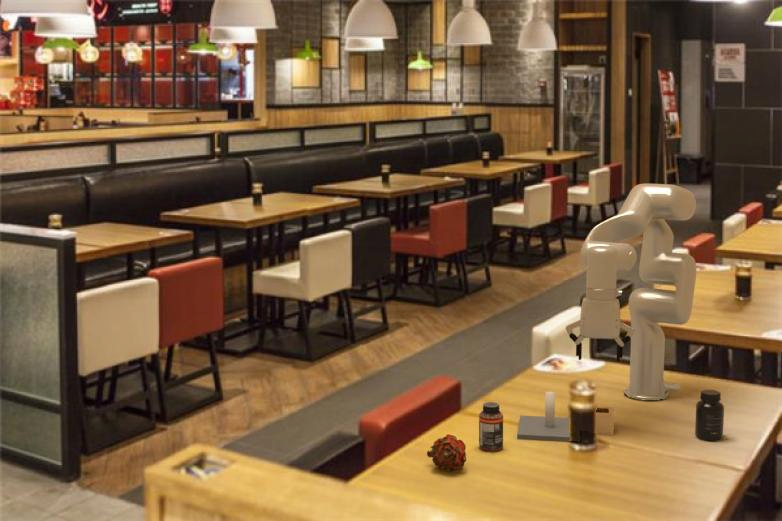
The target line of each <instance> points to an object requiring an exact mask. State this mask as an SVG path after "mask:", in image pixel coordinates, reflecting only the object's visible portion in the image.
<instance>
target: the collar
mask: <svg viewBox="0 0 782 521" xmlns="http://www.w3.org/2000/svg"><path fill="white" fill-rule="evenodd" d="M595 407H596V408H597V410H596V433H597V434H598V435H599V436H600V435H601V436H614V435H615V433H614V432H615V431H614V430H615V411H614V407H613V406H595ZM598 435H597V436H598Z"/></svg>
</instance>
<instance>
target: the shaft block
mask: <svg viewBox="0 0 782 521" xmlns="http://www.w3.org/2000/svg"><path fill="white" fill-rule="evenodd" d="M544 403H545V409H544V411H545V412H544V414H545V415H544V416H542V415H541V416H538V415H520V416H519V419H518V420H519V421H518V427H517V433H516V434H517V435H516V438H517V440H528V441H531V440H532V441H546V442H547V441H548V442H549V441H550V442H568V443H570V442H569V440H570V432H569V418H570V417H558V416H555V415H556V413H555V410H556V409H555V408H556V407H555V405H556V392H555V391H551V390H550V391H548V390H547V391H546V392H545V402H544Z"/></svg>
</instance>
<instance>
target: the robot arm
mask: <svg viewBox="0 0 782 521" xmlns="http://www.w3.org/2000/svg"><path fill="white" fill-rule="evenodd" d="M696 209H697V201H696V197H695V195H694V194H693V192H692V191H690V190H688V189H687V188H684V187H681V186H678V185H676V184H669V183H668V184H667V183H666V184H663V183H640V184H637V185H635V186H634V187H632V189H631V190H629V193H628V195H627V197H626V198H625V201H624V202H623V204H622V206H621V208H620V209H619V211H618V213H617V214H616V215H614V216H612V217H610V218H607V219H606V220H603V221H602V222H600V223H599V224H597V225H596V226H594V227H593V228H592V229H591V230H590V232H589V233H588V234H587V236H586V238H585V240H584V241H583V243H582V247H581V250H580V254H579V258H580V261H581V264H582V266H583V267H585V268H586V284H585V286H586V288H585V289H586V291H585V293H586V294H585V297H583V298H582V301H581V302H582V303H581V306H580V317H579V318H580V319H579V320H576V321H575V322H572V323H571V324H568V325H566V326H565V330H566V332H567V335H568V336H569V338H570V339H571V341H573V342H574V343H575V346H576V347H575V356H576V357H578V361H581V360H582V356H583V355H582V353H583V352H582V351H583V350H582V349H583V343H582V342H583V341H584V340H585V339H599V340H601V339H603V340H614V341H615V342H616V343H617V345H616V362H617V363H619V362H620V359H623V354H624V353H623V352H624V346H625V345H626V344H627V343H628V342H630V359H629V361H630V362H629V386H627V387H625V388H624V389H623V394H624V393H625V394H626V395H628V396H630V397H634V398H637V399H645V400H658V401H661V400H660V399H663V400H666V399H667V398H669V392H679V393H680V392H681V385H680V384H675V383H670V382H669V383H668V382H666V381H665V379H664V373H665V370H664V369H665V347H666V345H665V344H666V337H665V332H664V330H663V329H662V327H661V325H660V323H661V324H670V325H680V326H681V325H685V324H687V323H688V322H689V320H690V318H691V315H692V310H693V302H694V296H695V295H694V294H695V288H696V287H695V286H696V279H697V263H696V260H695V258H694V257H693V256H692V255H690V254H688V253H681V252H673V246H674V237H675V235H674V233H673V230H672V229H671V227H670V225H669V224H668V223H667V222H666V220H673V221H688V220H690V219H691V218H692V217H693V216H694V215H695V212H696ZM641 235H642V236H643V237H642V244H641V252H640V260H639V266H638V267H639V268H638V274H639V275H638V276H639V278H640V280H641V281H643V282H644V283H647V284H653V285H662V286H669V287H670V286H673V287H675V290H671V289H663V288H653V287H640V288H636V289H635V290H632V292H631V293H630V295H629V297H628V310H629V317H630V326H629V325H628V324H626V323H624V322H622V321H621V307H620V301H619V300H620V299H618V297H622V294H623V290H619V289H618V288H617V276H618V274H617V273H625V272H629V271H630V270H632V269H633V268H634V266H635V265H636V262H637V259H638V257H637V256H638V255H637V251H636V249H635V247H634V246H633V245H630V243H626V242H625V243H624V242H623V241H626V240H630V239H634V238H635V239H636V238H637V237H641ZM621 241H622V242H621ZM575 328H579V333H580V334H579V335H578V336H577V335H576V334H575V333H574V331H573V329H575ZM621 329H623V330H624V331H626V332H627V333H626V335H625V336H624V337H621V336H620V334H621ZM666 397H667V398H666ZM665 398H666V399H665Z"/></svg>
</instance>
